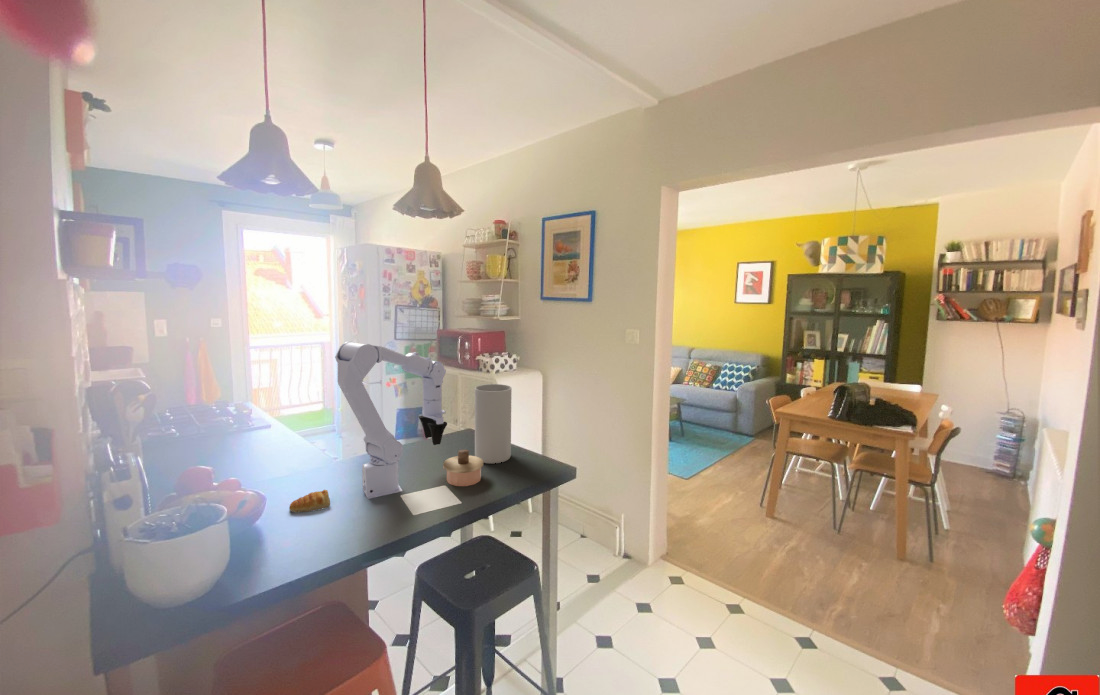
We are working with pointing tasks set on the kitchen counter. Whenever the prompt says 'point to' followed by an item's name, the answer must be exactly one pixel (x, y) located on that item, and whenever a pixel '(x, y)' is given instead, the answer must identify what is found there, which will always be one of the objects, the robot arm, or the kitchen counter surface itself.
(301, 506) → the pastry
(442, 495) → the mat
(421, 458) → the kitchen counter surface
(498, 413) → the cylinder vase
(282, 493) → the kitchen counter surface
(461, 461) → the lid
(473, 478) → the bowl
